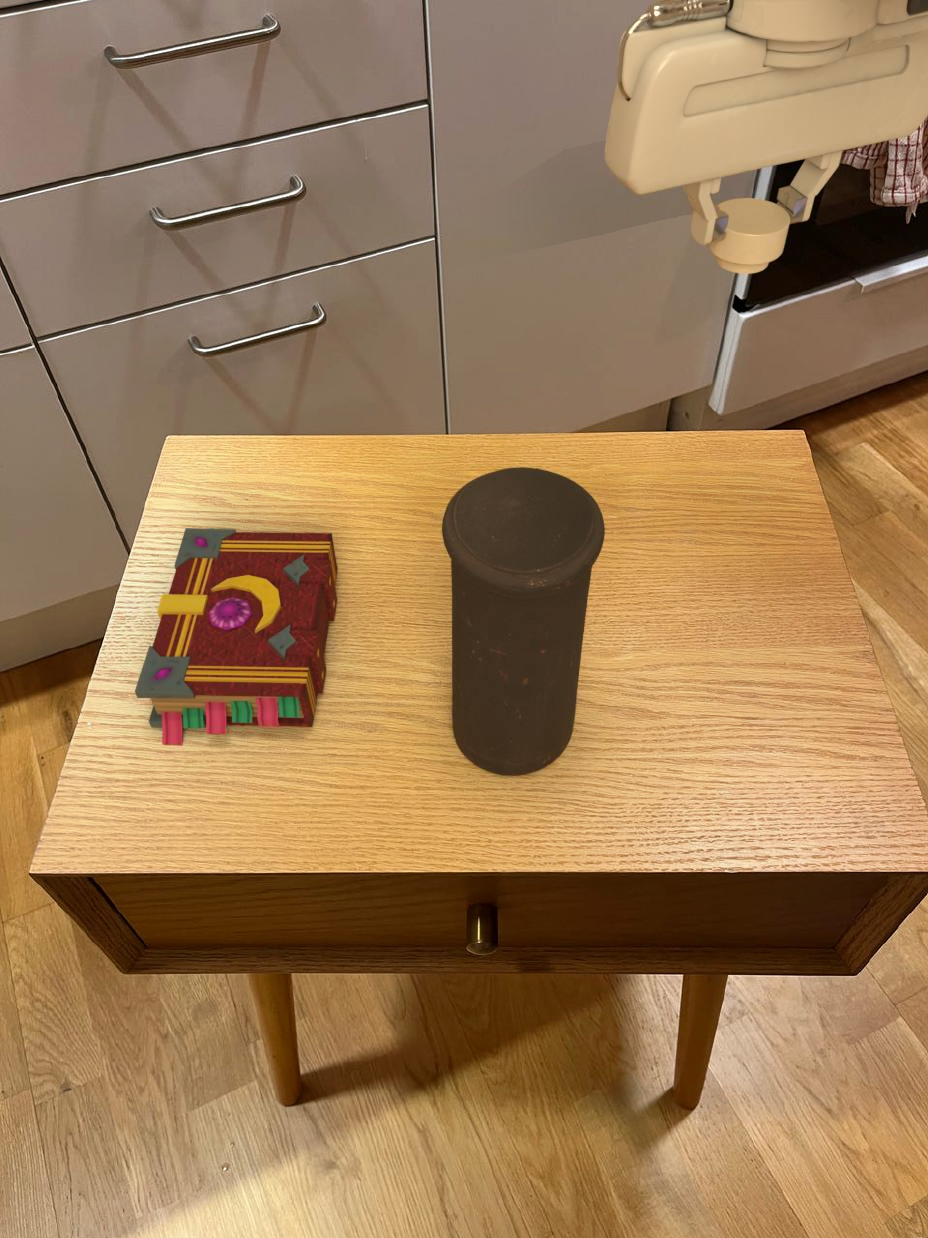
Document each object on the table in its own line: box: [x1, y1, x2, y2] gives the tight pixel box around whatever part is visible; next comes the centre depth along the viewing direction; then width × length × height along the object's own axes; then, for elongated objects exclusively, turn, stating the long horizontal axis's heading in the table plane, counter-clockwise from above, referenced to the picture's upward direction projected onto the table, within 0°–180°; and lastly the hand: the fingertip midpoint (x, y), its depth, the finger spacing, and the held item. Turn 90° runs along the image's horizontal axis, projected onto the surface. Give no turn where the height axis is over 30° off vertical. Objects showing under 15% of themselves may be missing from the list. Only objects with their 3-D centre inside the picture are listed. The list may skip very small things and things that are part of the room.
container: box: [441, 466, 606, 777], centre depth 57 cm, size 9×9×20 cm
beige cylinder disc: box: [706, 197, 791, 275], centre depth 61 cm, size 5×5×3 cm
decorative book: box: [134, 527, 339, 746], centre depth 68 cm, size 11×16×5 cm
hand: (749, 228), depth 61 cm, fingers closed on beige cylinder disc, 5 cm apart
